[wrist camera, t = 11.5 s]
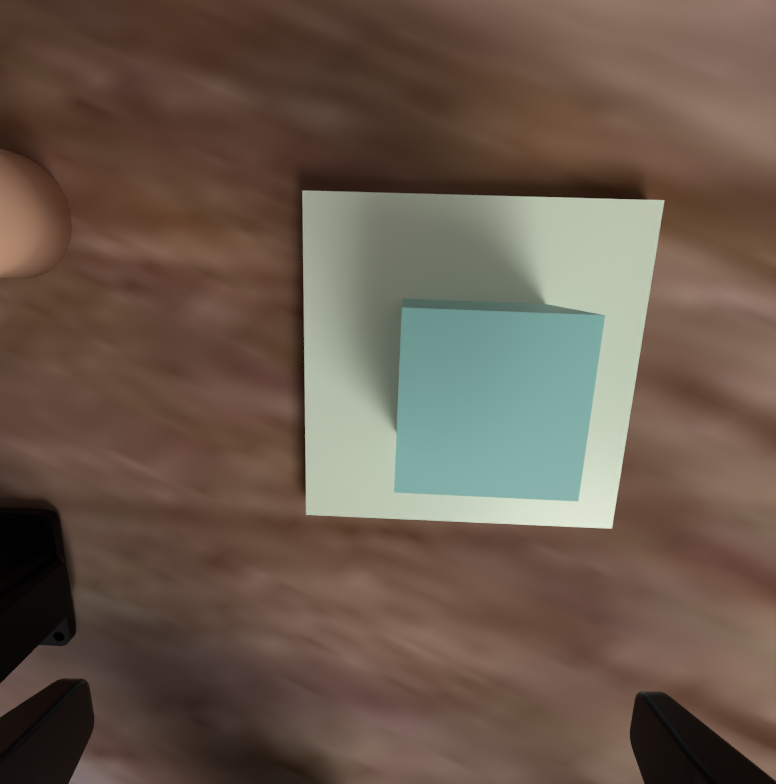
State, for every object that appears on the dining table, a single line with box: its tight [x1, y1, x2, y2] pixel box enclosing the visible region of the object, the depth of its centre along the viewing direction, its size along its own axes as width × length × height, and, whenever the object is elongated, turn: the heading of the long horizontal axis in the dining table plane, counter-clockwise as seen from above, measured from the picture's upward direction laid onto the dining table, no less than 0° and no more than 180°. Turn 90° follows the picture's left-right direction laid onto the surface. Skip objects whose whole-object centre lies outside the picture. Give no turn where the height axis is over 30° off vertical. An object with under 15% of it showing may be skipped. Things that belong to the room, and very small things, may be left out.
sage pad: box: [302, 191, 664, 529], centre depth 18 cm, size 12×12×1 cm
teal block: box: [394, 299, 605, 501], centre depth 15 cm, size 5×5×5 cm
